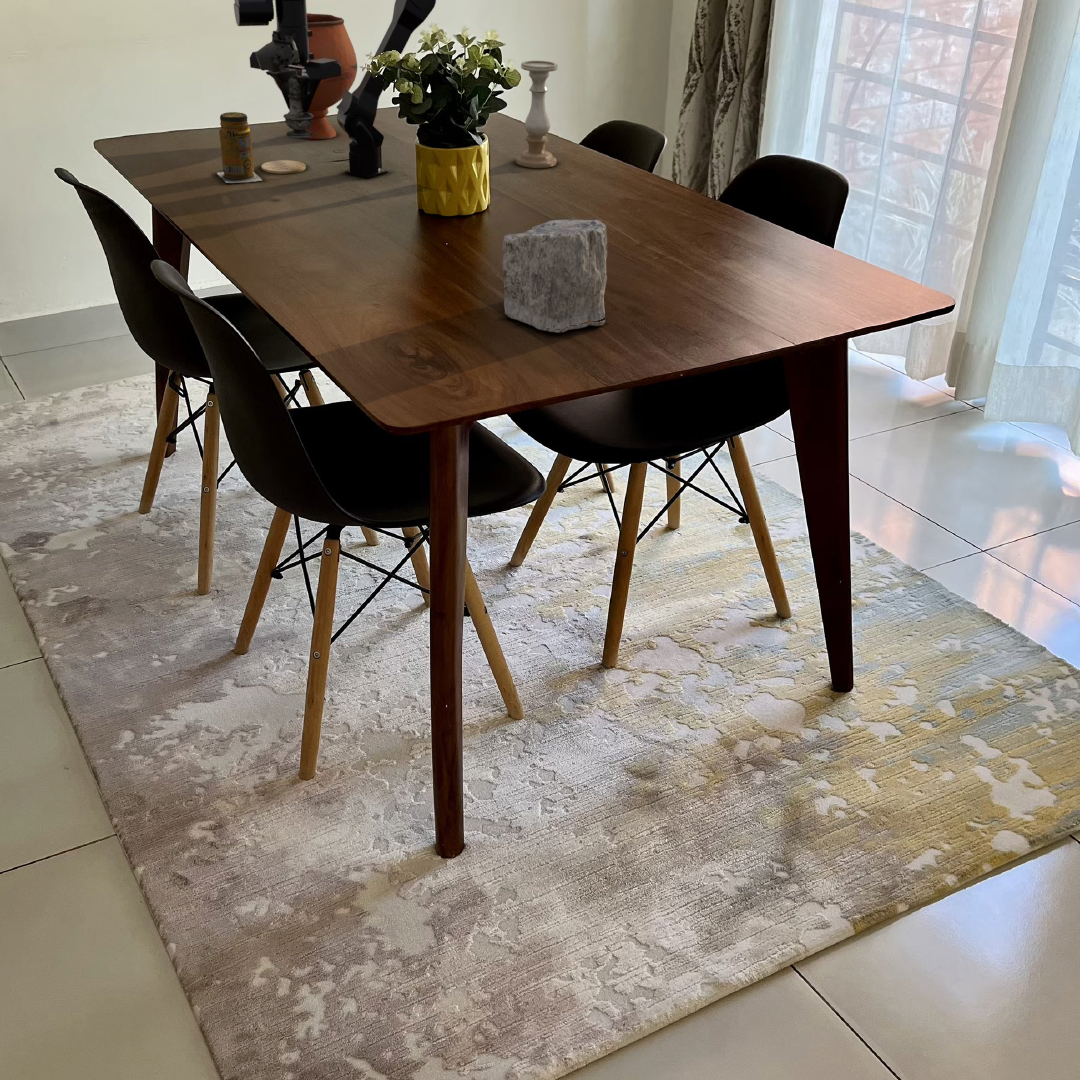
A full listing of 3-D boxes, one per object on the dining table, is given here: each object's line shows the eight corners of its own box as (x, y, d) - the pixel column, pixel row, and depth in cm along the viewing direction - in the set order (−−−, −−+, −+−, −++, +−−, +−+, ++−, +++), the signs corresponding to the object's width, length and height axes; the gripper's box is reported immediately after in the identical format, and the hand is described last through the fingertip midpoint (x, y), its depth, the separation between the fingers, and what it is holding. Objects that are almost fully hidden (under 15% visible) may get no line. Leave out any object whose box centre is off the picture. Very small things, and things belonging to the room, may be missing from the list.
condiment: (252, 170, 243) (246, 109, 237) (262, 181, 236) (257, 118, 230) (216, 173, 240) (209, 112, 234) (226, 184, 234) (219, 121, 227)
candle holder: (531, 156, 261) (534, 58, 250) (564, 163, 257) (568, 63, 246) (507, 163, 255) (509, 63, 244) (540, 171, 251) (544, 69, 240)
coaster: (283, 160, 251) (282, 157, 251) (314, 167, 247) (314, 165, 246) (252, 168, 244) (251, 166, 244) (284, 176, 240) (284, 173, 240)
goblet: (353, 146, 263) (348, 25, 250) (266, 143, 263) (256, 21, 250) (365, 127, 279) (361, 12, 266) (283, 124, 279) (275, 8, 266)
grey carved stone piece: (285, 130, 238) (280, 67, 231) (315, 131, 238) (311, 67, 232) (283, 137, 233) (278, 73, 226) (314, 138, 233) (309, 73, 227)
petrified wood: (539, 283, 191) (543, 189, 183) (636, 305, 184) (644, 209, 176) (476, 318, 177) (476, 218, 169) (577, 343, 170) (583, 240, 162)
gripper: (225, 24, 223) (233, 110, 231) (301, 35, 215) (307, 124, 223) (266, 18, 231) (273, 101, 239) (340, 28, 223) (345, 115, 231)
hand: (298, 110), depth 233 cm, fingers closed on grey carved stone piece, 3 cm apart
